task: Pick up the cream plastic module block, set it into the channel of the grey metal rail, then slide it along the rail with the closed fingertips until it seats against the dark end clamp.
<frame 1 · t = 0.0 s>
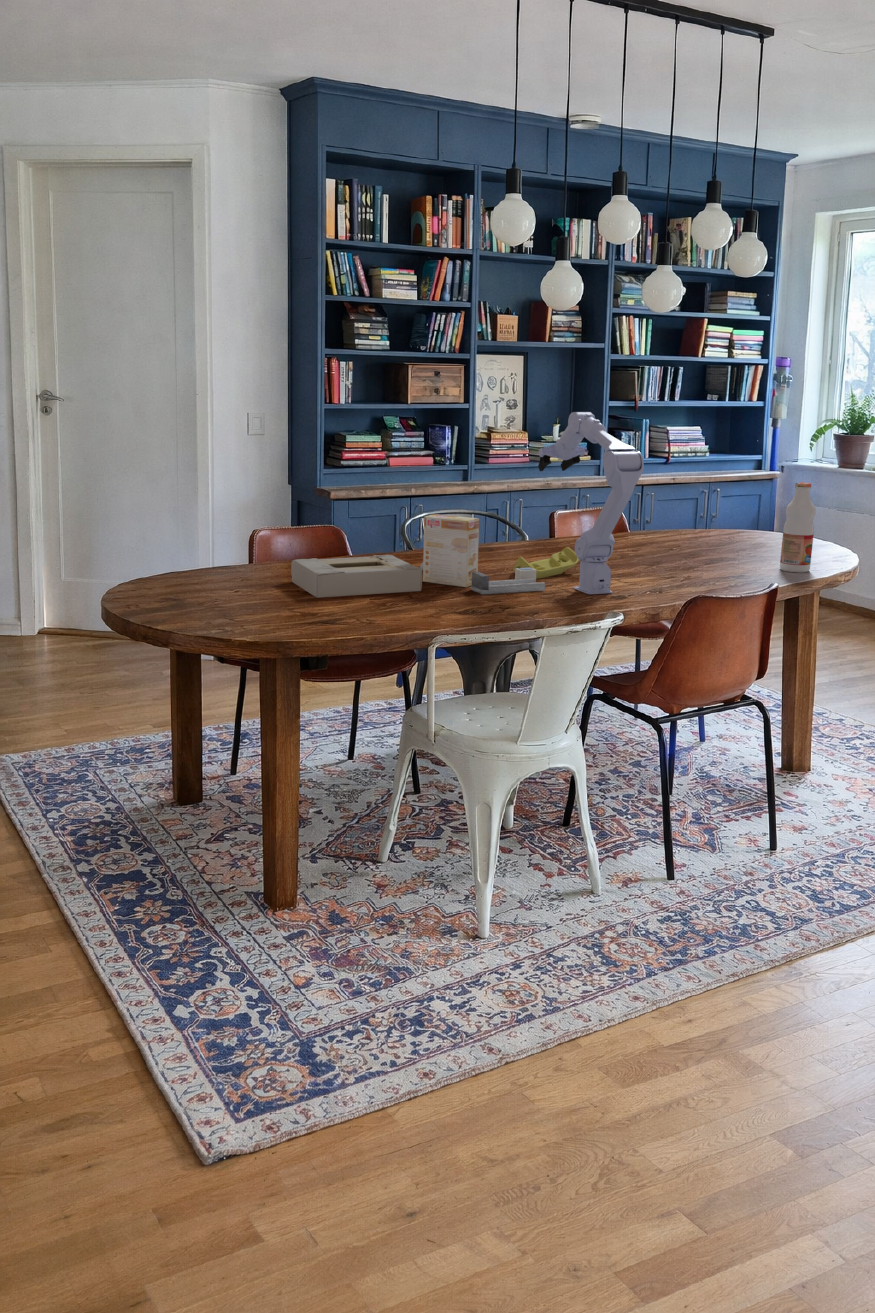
hand: (551, 468, 356), 32 cm above the table, tool tilted 50°, fingers open, 7 cm apart
plastic component: (547, 575, 364), on the table
module: (525, 584, 348), on the table
coffeecake box: (449, 583, 346), on the table
box: (356, 588, 339), on the table
rail: (508, 590, 338), on the table
hinge: (444, 573, 363), on the table
fruit juice: (794, 570, 380), on the table
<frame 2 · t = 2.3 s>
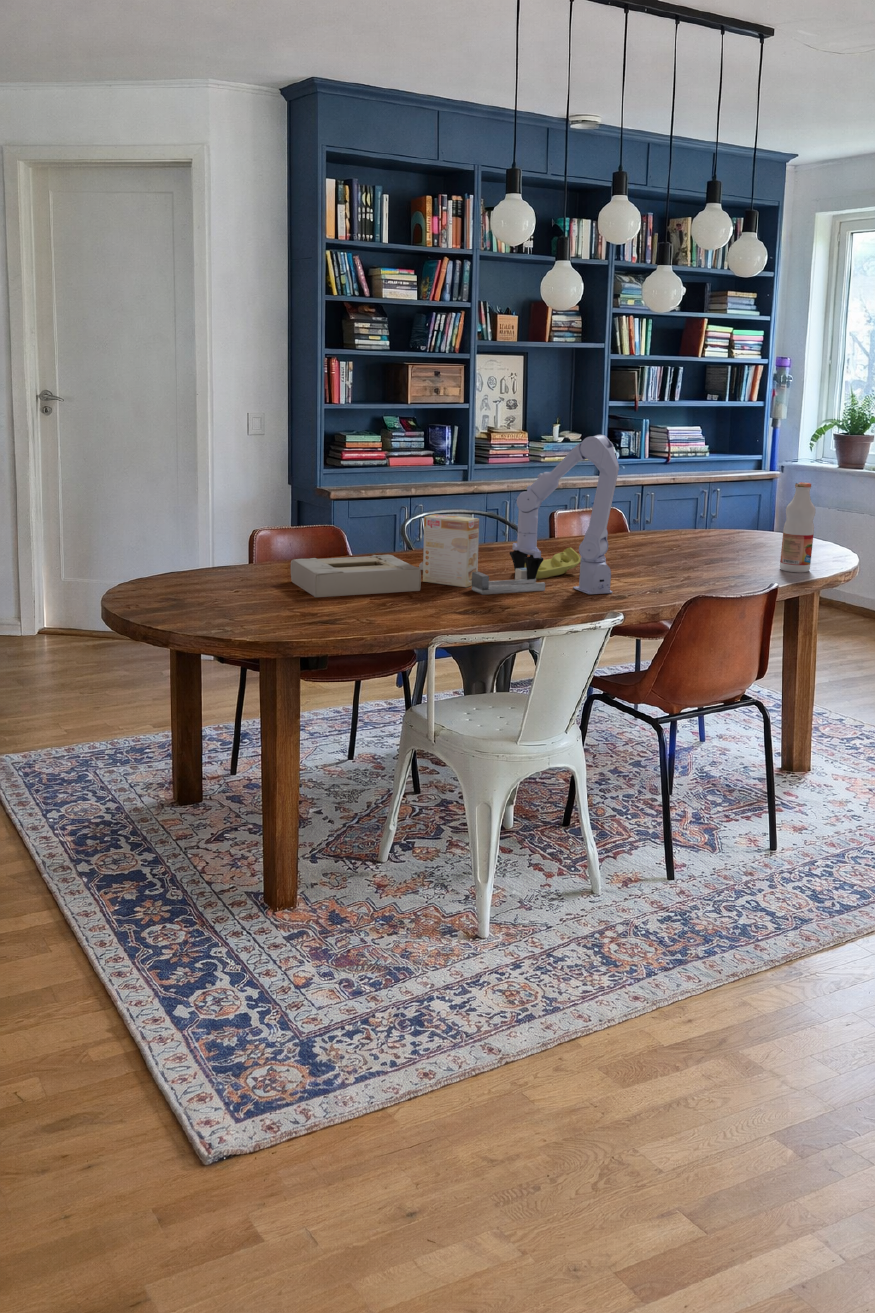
hand: (525, 577, 347), 2 cm above the table, tool pointing down, fingers open, 7 cm apart
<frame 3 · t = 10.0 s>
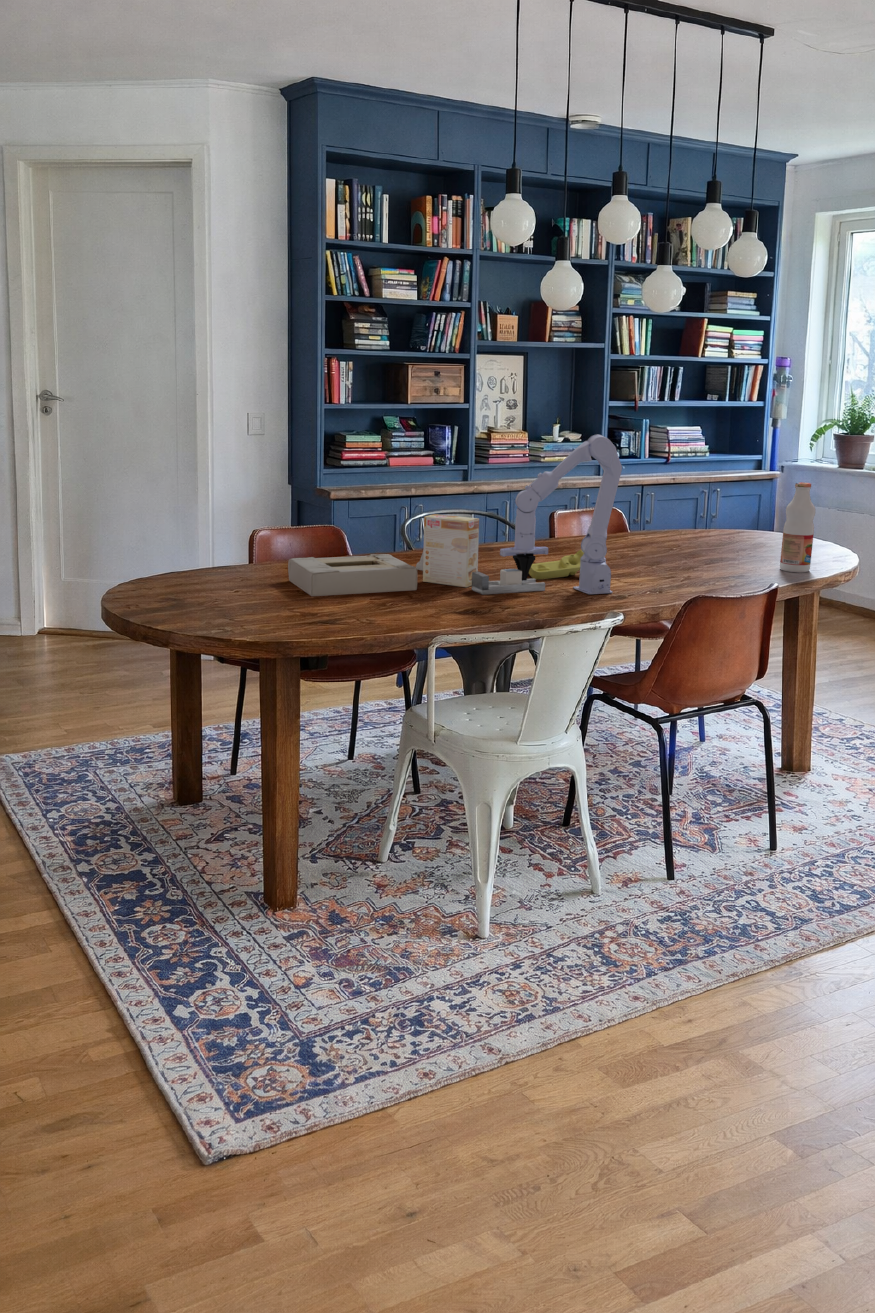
hand: (523, 579, 339), 3 cm above the table, tool pointing down, fingers closed
plastic component: (555, 576, 362), on the table
module: (510, 585, 338), point 1 cm above the table, touching gripper
box: (352, 587, 340), on the table
hinge: (442, 572, 364), on the table
everything else where it was.
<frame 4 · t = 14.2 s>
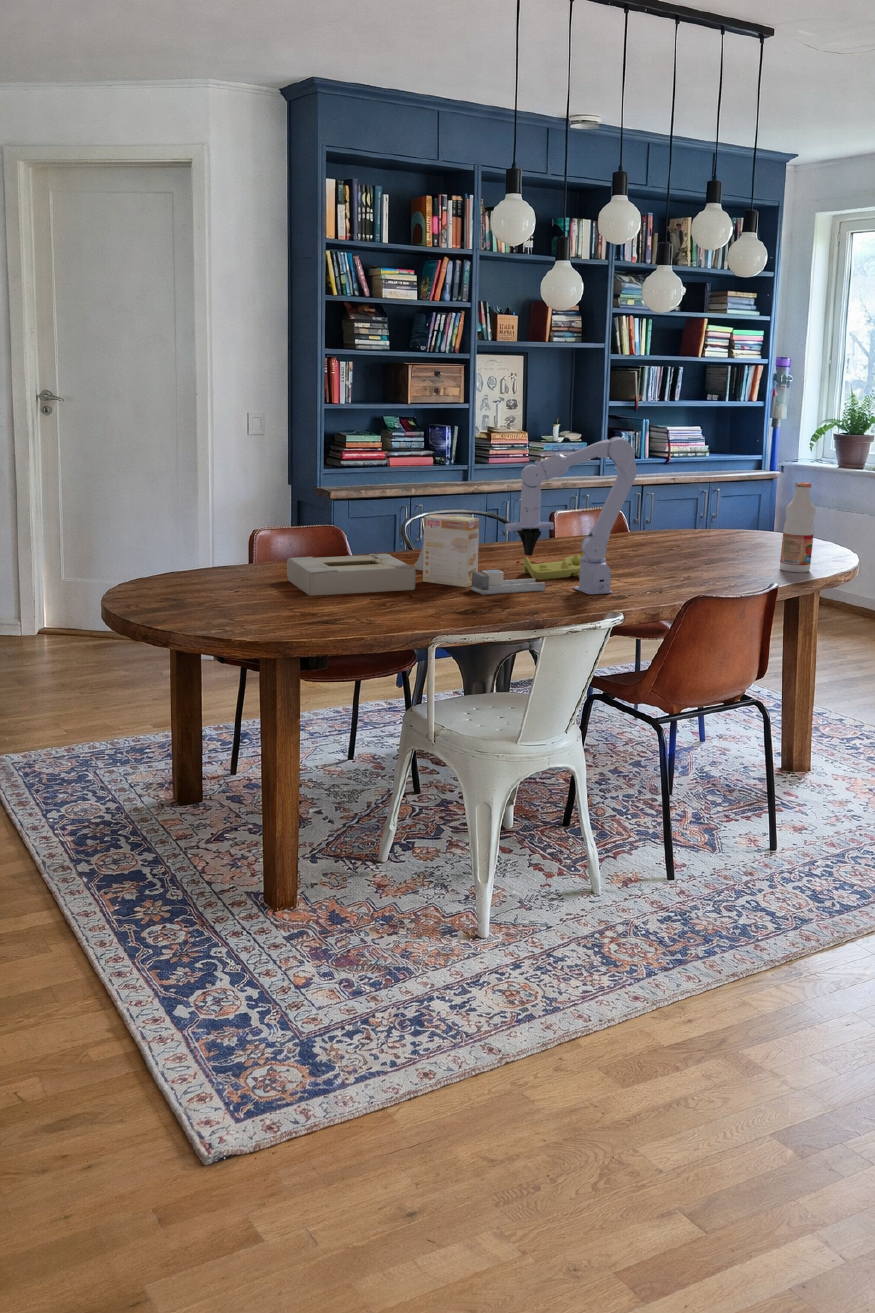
hand: (528, 555, 338), 10 cm above the table, tool pointing down, fingers closed
plastic component: (557, 577, 361), on the table
module: (492, 587, 336), point 1 cm above the table, touching rail
at the end: module 0.6 cm from the target spot on the rail, point 1.2 cm above the rail's base; module tilted 0°; module touching rail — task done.
